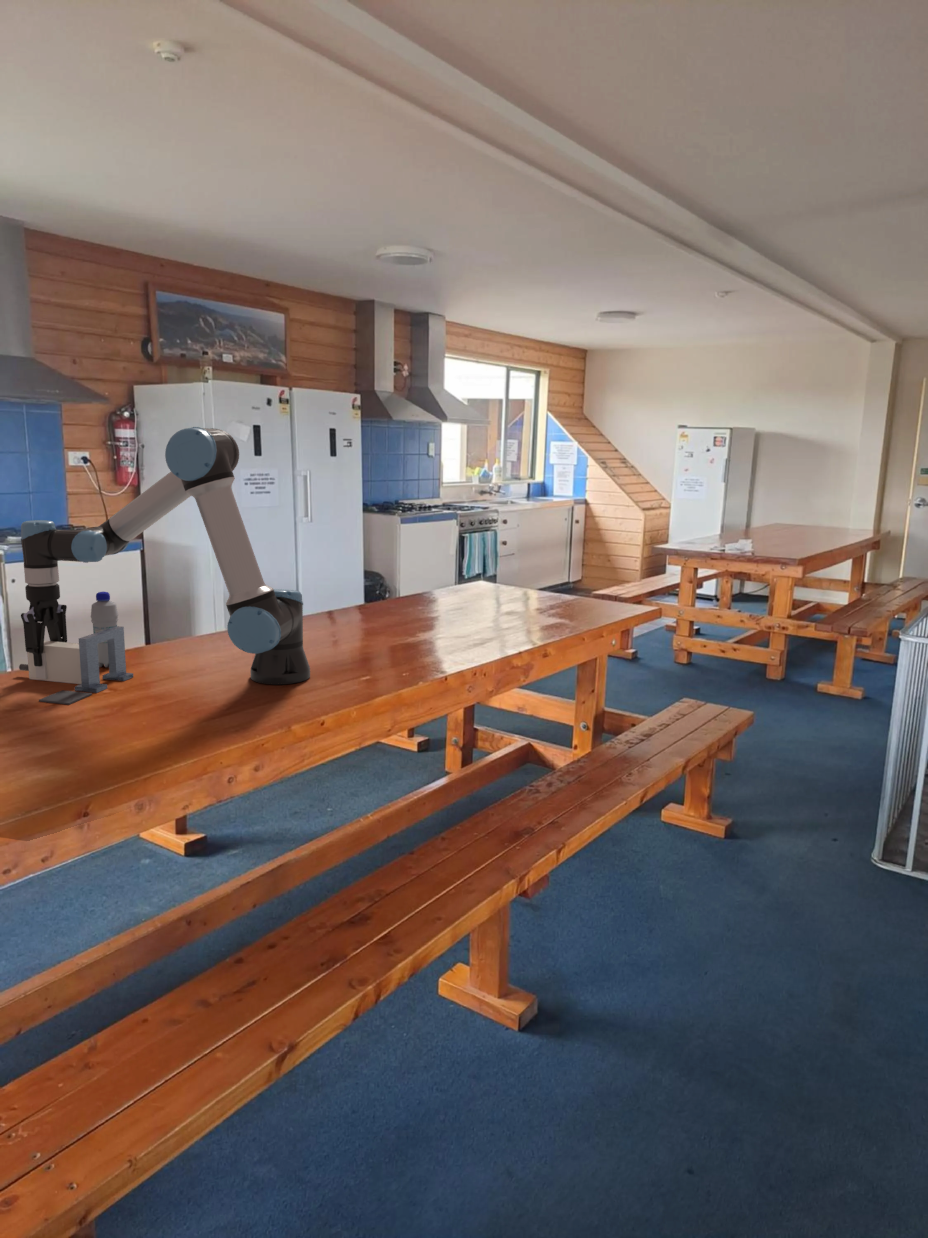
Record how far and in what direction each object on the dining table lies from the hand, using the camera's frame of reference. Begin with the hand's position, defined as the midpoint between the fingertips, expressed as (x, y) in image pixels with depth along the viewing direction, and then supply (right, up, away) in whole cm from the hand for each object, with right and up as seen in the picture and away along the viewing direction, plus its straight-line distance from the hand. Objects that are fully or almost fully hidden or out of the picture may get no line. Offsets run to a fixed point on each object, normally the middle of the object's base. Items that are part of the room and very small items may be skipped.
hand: (49, 675), depth 211 cm
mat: (+11, -4, -15) cm, 20 cm away
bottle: (+9, +1, +13) cm, 16 cm away
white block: (+2, -1, 0) cm, 2 cm away
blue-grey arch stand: (+15, -2, -3) cm, 16 cm away
